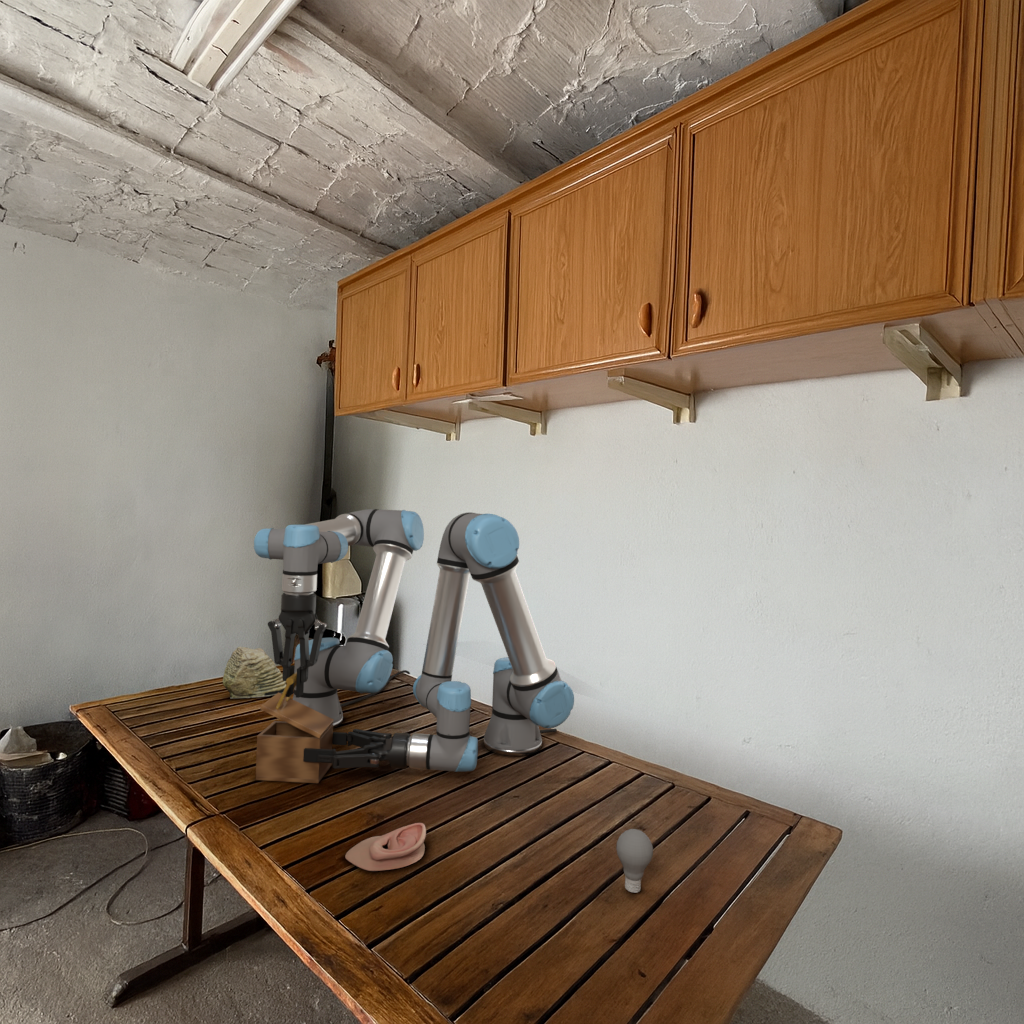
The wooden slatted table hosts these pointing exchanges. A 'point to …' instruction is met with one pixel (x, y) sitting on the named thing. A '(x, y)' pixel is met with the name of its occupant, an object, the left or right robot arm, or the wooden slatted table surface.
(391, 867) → the anatomical model
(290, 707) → the panel with bar handle
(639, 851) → the light bulb
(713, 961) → the wooden slatted table surface
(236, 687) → the fossil
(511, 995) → the wooden slatted table surface
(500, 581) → the right robot arm
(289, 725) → the chest
